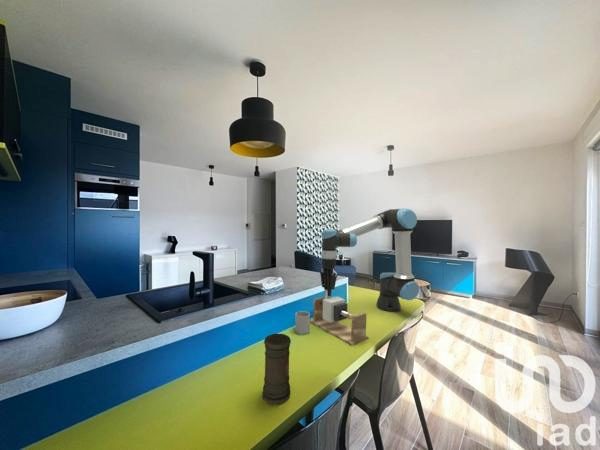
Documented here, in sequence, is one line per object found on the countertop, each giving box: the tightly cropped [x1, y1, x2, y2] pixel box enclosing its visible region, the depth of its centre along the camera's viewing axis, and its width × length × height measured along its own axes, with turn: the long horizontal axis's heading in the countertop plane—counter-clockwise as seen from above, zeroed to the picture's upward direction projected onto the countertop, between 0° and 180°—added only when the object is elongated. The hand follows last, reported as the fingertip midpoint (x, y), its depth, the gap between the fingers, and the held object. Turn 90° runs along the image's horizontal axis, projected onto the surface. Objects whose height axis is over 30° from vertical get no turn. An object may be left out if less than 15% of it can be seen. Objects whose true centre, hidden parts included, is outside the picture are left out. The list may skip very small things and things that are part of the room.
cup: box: [294, 310, 311, 335], centre depth 124 cm, size 7×10×9 cm
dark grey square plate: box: [334, 302, 348, 322], centre depth 123 cm, size 2×8×8 cm, turn 126°
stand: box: [310, 296, 369, 346], centre depth 125 cm, size 30×12×12 cm, turn 36°
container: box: [262, 333, 292, 406], centre depth 77 cm, size 9×9×18 cm
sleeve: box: [323, 296, 346, 323], centre depth 127 cm, size 6×10×10 cm, turn 126°
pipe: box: [320, 301, 354, 321], centre depth 125 cm, size 28×3×3 cm, turn 36°
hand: (327, 301), depth 131 cm, fingers closed
